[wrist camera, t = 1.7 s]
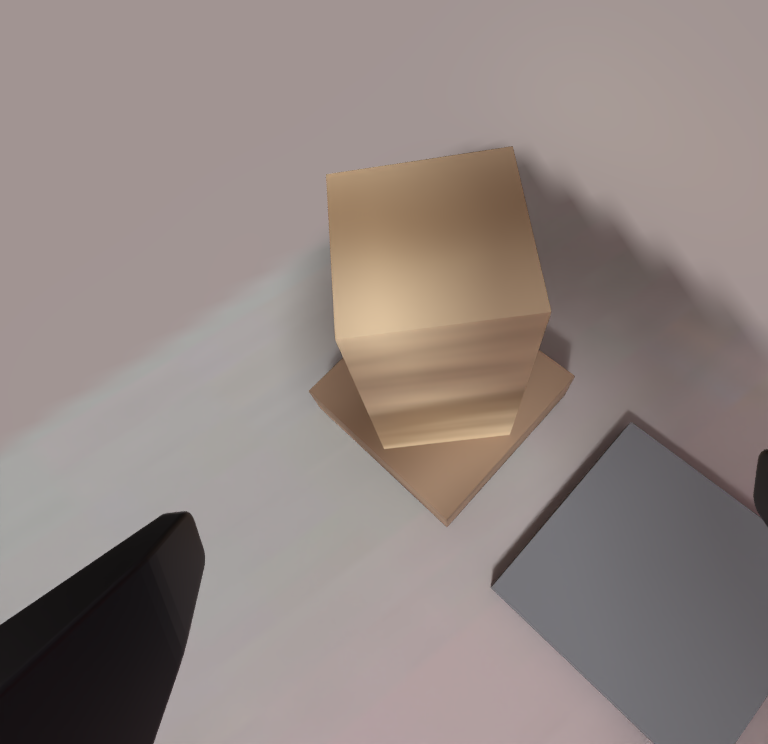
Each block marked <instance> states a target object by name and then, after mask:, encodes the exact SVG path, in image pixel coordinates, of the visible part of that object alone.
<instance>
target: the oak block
mask: <svg viewBox="0 0 768 744" xmlns="http://www.w3.org/2000/svg"><path fill="white" fill-rule="evenodd" d="M326 181H327V197H328V217H329V235H330V253H331V271H332V289H333V307H334V325H335V340H336V342H337V345H338V347H339V349H340V351H341V354H342V356H343V358H344V360H345V363H346V365H347V367H348V369H349V372H350V374H351V376H352V378H353V381H354V383H355V385H356V387H357V389H358V392H359V394H360V396H361V398H362V401H363V403H364V405H365V407H366V410H367V412H368V414H369V416H370V419H371V421H372V423H373V425H374V428H375V430H376V432H377V434H378V437H379V439H380V441H381V443H382V445H383V448H384V449H389V448H398V447H406V446H415V445H424V444H433V443H442V442H450V441H459V440H468V439H477V438H486V437H494V436H503V435H510V433H511V430H512V427H513V424H514V421H515V418H516V415H517V412H518V409H519V406H520V403H521V400H522V397H523V394H524V391H525V388H526V385H527V382H528V380H529V377H530V374H531V371H532V368H533V365H534V362H535V359H536V356H537V353H538V350H539V347H540V344H541V341H542V338H543V335H544V332H545V329H546V326H547V323H548V321H549V318H550V315H551V308H550V304H549V300H548V295H547V291H546V287H545V282H544V278H543V274H542V270H541V265H540V261H539V257H538V253H537V248H536V244H535V240H534V235H533V231H532V227H531V223H530V218H529V214H528V210H527V205H526V201H525V197H524V193H523V188H522V184H521V180H520V176H519V171H518V167H517V163H516V158H515V154H514V150H513V146H511V147H505V148H498V149H491V150H485V151H478V152H471V153H465V154H458V155H452V156H445V157H438V158H432V159H425V160H419V161H412V162H405V163H399V164H393V165H385V166H379V167H373V168H365V169H360V170H352V171H346V172H339V173H333V174H326Z"/></svg>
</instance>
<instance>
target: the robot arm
mask: <svg viewBox="0 0 768 744" xmlns="http://www.w3.org/2000/svg"><path fill="white" fill-rule="evenodd" d="M753 497H754V503H755V506H756V509H757V511H758V513H759V514H760V516H761V518H762V519H763V521H764V523H765V524H766V526H767V527H768V449H765V450H764V451H762V452H761V453H760V455H759V458H758V463H757V471H756V478H755V486H754V495H753ZM204 565H205V553H204V549H203V545H202V542H201V539H200V536H199V533H198V530H197V527H196V524H195V521H194V519H193V516H192V515H191V514H190V513H189V512H187V511H182V512H173V513H165V514H163V515H161V516H159V517H158V518H157V519H155V520H154V521H152V522H151V523H149V524H148V525H146V526H145V527H143V528H142V529H140V530H139V531H137V532H136V533H135V534H133V535H132V536H130V537H129V538H127V539H126V540H124V541H123V542H121V543H120V544H118V545H117V546H115V547H114V548H112V549H111V550H110V551H108V552H107V553H105V554H104V555H102V556H101V557H99V558H98V559H96V560H95V561H93V562H92V563H90V564H89V565H88V566H86V567H85V568H83V569H82V570H80V571H79V572H77V573H76V574H74V575H73V576H71V577H70V578H68V579H67V580H66V581H64V582H63V583H61V584H60V585H58V586H57V587H55V588H54V589H52V590H51V591H49V592H48V593H46V594H45V595H44V596H42V597H41V598H39V599H38V600H36V601H35V602H33V603H32V604H30V605H29V606H27V607H26V608H24V609H23V610H22V611H20V612H19V613H17V614H16V615H14V616H13V617H11V618H10V619H8V620H7V621H5V622H4V623H2V624H1V625H0V744H153V743H154V740H155V737H156V735H157V732H158V729H159V726H160V723H161V720H162V717H163V714H164V711H165V708H166V705H167V703H168V700H169V697H170V694H171V691H172V688H173V685H174V682H175V679H176V676H177V673H178V671H179V668H180V664H181V661H182V658H183V655H184V651H185V648H186V644H187V640H188V636H189V631H190V627H191V623H192V618H193V614H194V610H195V605H196V601H197V596H198V592H199V588H200V583H201V579H202V575H203V570H204Z"/></svg>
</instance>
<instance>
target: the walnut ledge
mask: <svg viewBox="0 0 768 744" xmlns="http://www.w3.org/2000/svg"><path fill="white" fill-rule="evenodd" d="M574 377H575V376H574V375H573V374H571V373H570V372H569V371H567V370H566V369H564V368H563V367H562V366H560V365H559V364H558V363H556V362H555V361H554V360H552V359H551V358H550V357H548V356H547V355H545V354H544V353H543V352H541V351H540V350H538V353H537V356H536V359H535V362H534V365H533V368H532V371H531V374H530V377H529V380H528V382H527V385H526V388H525V391H524V394H523V397H522V400H521V403H520V406H519V409H518V412H517V415H516V418H515V421H514V424H513V427H512V430H511V433H510V435H503V436H494V437H486V438H477V439H468V440H459V441H450V442H442V443H433V444H424V445H415V446H406V447H398V448H389V449H384V448H383V445H382V443H381V441H380V439H379V437H378V434H377V432H376V430H375V428H374V425H373V423H372V421H371V419H370V416H369V414H368V412H367V410H366V407H365V405H364V403H363V401H362V398H361V396H360V394H359V392H358V389H357V387H356V385H355V383H354V381H353V378H352V376H351V374H350V372H349V369H348V367H347V365H346V363H345V360H344V358H342V359H341V360H340V361H339V362H338V363H337V364H336V365H335V366H334V367H333V368H332V369H331V370H330V371H329V372H328V373H327V374H326V375H325V376H324V377H323V378H322V379H321V380H320V381H319V382H318V383H317V384H316V385H314V386H313V387H312V388H311V389H310V390H309V392H310V394H311V395H312V397H313V398H314V399H315V401H316V402H317V404H318V405H319V407H320V408H321V409H322V410H323V411H324V412H325V413H326V414H327V415H328V416H329V417H330V418H331V419H333V420H334V421H335V422H336V423H337V424H338V425H339V426H340V427H341V428H342V429H343V430H344V431H345V432H346V433H347V434H348V435H350V436H351V437H352V438H353V439H354V440H355V441H356V442H357V443H358V444H359V445H360V446H361V447H362V448H363V449H364V450H365V451H367V452H368V453H369V454H370V455H371V456H372V457H373V458H374V459H375V460H376V461H377V462H378V463H379V464H380V465H381V466H383V467H384V468H385V469H386V470H387V471H388V472H389V473H390V474H391V475H392V476H393V477H394V478H395V479H396V480H397V481H398V482H400V483H401V484H402V485H403V486H404V487H405V488H406V489H407V490H408V491H409V492H410V493H411V494H412V495H413V496H414V497H415V498H417V499H418V500H419V501H420V502H421V503H422V504H423V505H424V506H425V507H426V508H427V509H428V510H429V511H430V512H431V513H433V514H434V515H435V516H436V517H437V518H438V519H439V520H440V521H441V522H442V523H443V524H444V525H445V526H446V527H448V526H449V524H450V523H451V522H452V521H453V520H454V519H455V518H456V517H457V515H458V514H459V513H460V512H461V511H462V510H463V509H464V508H465V506H466V505H467V504H468V503H469V502H470V501H471V500H472V499H473V497H474V496H475V495H476V494H477V493H478V492H479V491H480V490H481V488H482V487H483V486H484V485H485V484H486V483H487V482H488V481H489V480H490V478H491V477H492V476H493V475H494V474H495V473H496V472H497V471H498V469H499V468H500V467H501V466H502V465H503V464H504V463H505V462H506V460H507V459H508V458H509V457H510V456H511V455H512V454H513V453H514V451H515V450H516V449H517V448H518V447H519V446H520V445H521V444H522V442H523V441H524V440H525V439H526V438H527V437H528V436H529V435H530V433H531V432H532V431H533V430H534V429H535V428H536V427H537V426H538V425H539V423H540V422H541V421H542V420H543V419H544V418H545V417H546V416H547V414H548V413H549V412H550V411H551V410H552V409H553V408H554V407H555V405H556V404H557V403H558V402H559V401H560V400H561V399H562V398H563V396H564V395H565V394H566V392H567V390H568V388H569V386H570V384H571V382H572V381H573V379H574Z"/></svg>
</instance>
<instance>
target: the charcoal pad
mask: <svg viewBox="0 0 768 744" xmlns="http://www.w3.org/2000/svg"><path fill="white" fill-rule="evenodd" d="M491 588H492V589H493V590H494V591H495V592H496V593H497V594H498V595H499V596H500V597H501V598H502V599H503V600H504V601H505V602H506V603H507V604H508V605H509V606H510V607H511V608H513V609H514V610H515V611H516V612H517V613H518V614H519V615H520V616H521V617H522V618H523V619H524V620H525V621H526V622H527V623H528V624H529V625H530V626H531V627H532V628H533V629H534V630H536V631H537V632H538V633H539V634H540V635H541V636H542V637H543V638H544V639H545V640H546V641H547V642H548V643H549V644H550V645H551V646H552V647H553V648H554V649H555V650H556V651H557V652H559V653H560V654H561V655H562V656H563V657H564V658H565V659H566V660H567V661H568V662H569V663H570V664H571V665H572V666H573V667H574V668H575V669H576V670H577V671H578V672H579V673H581V674H582V675H583V676H584V677H585V678H586V679H587V680H588V681H589V682H590V683H591V684H592V685H593V686H594V687H595V688H596V689H597V690H598V691H599V692H600V693H601V694H602V695H604V696H605V697H606V698H607V699H608V700H609V701H610V702H611V703H612V704H613V705H614V706H615V707H616V708H617V709H618V710H619V711H620V712H621V713H622V714H623V715H624V716H626V717H627V718H628V719H629V720H630V721H631V722H632V723H633V724H634V725H635V726H636V727H637V728H638V729H639V730H640V731H641V732H642V733H643V734H644V735H645V736H646V737H647V738H649V739H650V740H651V741H652V742H653V743H654V744H735V743H736V742H737V740H738V739H739V737H740V736H741V734H742V733H743V731H744V730H745V728H746V727H747V725H748V724H749V722H750V721H751V719H752V718H753V716H754V715H755V713H756V712H757V711H758V709H759V708H760V706H761V705H762V703H763V702H764V700H765V699H766V697H767V696H768V527H767V526H766V524H765V523H764V521H763V519H762V518H760V517H759V516H758V515H756V514H755V513H754V512H752V511H751V510H750V509H748V508H747V507H746V506H744V505H743V504H741V503H740V502H739V501H737V500H736V499H735V498H733V497H732V496H731V495H729V494H728V493H727V492H725V491H724V490H723V489H721V488H720V487H718V486H717V485H716V484H714V483H713V482H712V481H710V480H709V479H708V478H706V477H705V476H704V475H702V474H701V473H700V472H698V471H697V470H696V469H694V468H693V467H691V466H690V465H689V464H687V463H686V462H685V461H683V460H682V459H681V458H679V457H678V456H677V455H675V454H674V453H673V452H671V451H670V450H668V449H667V448H666V447H664V446H663V445H662V444H660V443H659V442H658V441H656V440H655V439H654V438H652V437H651V436H650V435H648V434H647V433H645V432H644V431H643V430H641V429H640V428H639V427H637V426H636V425H635V424H633V423H632V422H631V423H630V424H629V425H628V426H627V427H626V428H625V429H624V430H623V432H622V433H621V434H620V435H619V436H618V437H617V439H616V440H615V441H614V442H613V443H612V445H611V446H610V447H609V448H608V449H607V450H606V452H605V453H604V454H603V455H602V456H601V458H600V459H599V460H598V461H597V462H596V464H595V465H594V466H593V467H592V468H591V469H590V471H589V472H588V473H587V474H586V475H585V477H584V478H583V479H582V480H581V481H580V482H579V484H578V485H577V486H576V487H575V488H574V490H573V491H572V492H571V493H570V494H569V496H568V497H567V498H566V499H565V500H564V501H563V503H562V504H561V505H560V506H559V507H558V509H557V510H556V511H555V512H554V513H553V514H552V516H551V517H550V518H549V519H548V520H547V522H546V523H545V524H544V525H543V526H542V528H541V529H540V530H539V531H538V532H537V533H536V535H535V536H534V537H533V538H532V539H531V541H530V542H529V543H528V544H527V545H526V546H525V548H524V549H523V550H522V551H521V552H520V554H519V555H518V556H517V557H516V558H515V559H514V561H513V562H512V563H511V564H510V565H509V567H508V568H507V569H506V570H505V571H504V573H503V574H502V575H501V576H500V577H499V578H498V580H497V581H496V582H495V583H494V584H493V586H492V587H491Z"/></svg>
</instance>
